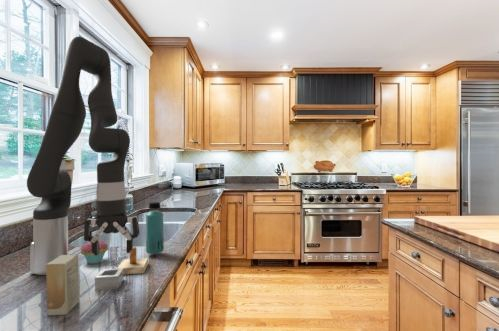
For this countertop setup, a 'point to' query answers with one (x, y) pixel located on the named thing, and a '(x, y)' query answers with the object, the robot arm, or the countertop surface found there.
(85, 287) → the countertop surface
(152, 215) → the beverage bottle
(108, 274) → the link
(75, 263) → the skincare box
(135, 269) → the keeper
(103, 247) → the cupcake
